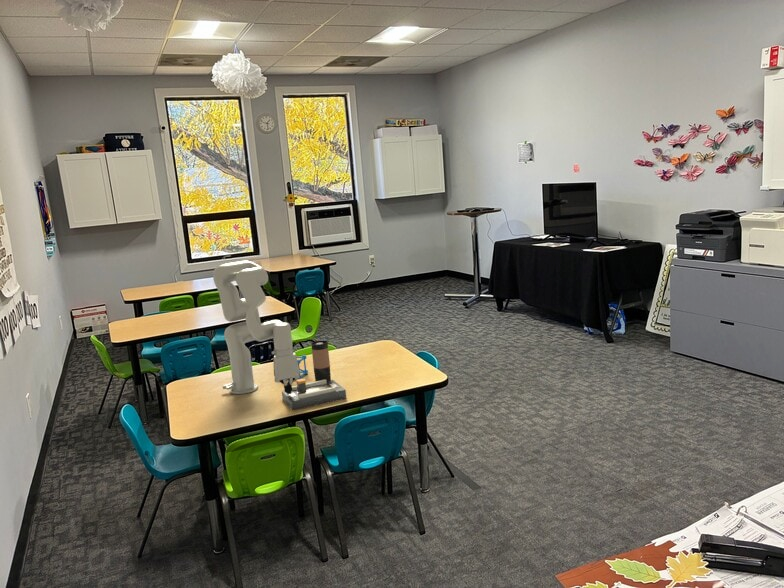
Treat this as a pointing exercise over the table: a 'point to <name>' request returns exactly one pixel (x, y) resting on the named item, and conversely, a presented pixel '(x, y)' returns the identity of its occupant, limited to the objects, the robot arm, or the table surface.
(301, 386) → the switch handle
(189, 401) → the table surface
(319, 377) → the travel mug
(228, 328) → the robot arm
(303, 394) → the switch panel
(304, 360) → the molecular structure
